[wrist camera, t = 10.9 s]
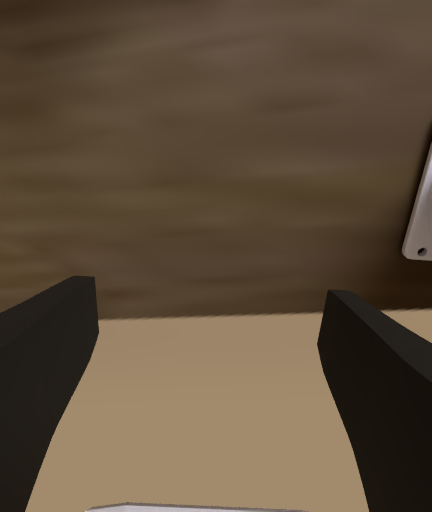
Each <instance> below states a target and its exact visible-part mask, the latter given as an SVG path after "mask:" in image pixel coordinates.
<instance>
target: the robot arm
mask: <svg viewBox="0 0 432 512" xmlns="http://www.w3.org/2000/svg"><path fill="white" fill-rule="evenodd" d="M421 248H424V250H423V252H422V253H419V254H418V250H419V249H421ZM402 253H403V255H404V256H405V257H406V258H408V259H414V260H429V261H432V143H431V146H430V150H429V154H428V157H427V161H426V164H425V168H424V171H423V175H422V179H421V182H420V186H419V189H418V193H417V196H416V200H415V204H414V207H413V211H412V214H411V218H410V221H409V225H408V229H407V232H406V236H405V239H404V243H403V246H402ZM98 334H99V327H98V314H97V302H96V289H95V277H88V276H73V277H70V278H68V279H66V280H64V281H62V282H60V283H58V284H56V285H54V286H52V287H50V288H49V289H47V290H45V291H43V292H41V293H39V294H37V295H36V296H34V297H32V298H30V299H28V300H26V301H24V302H22V303H20V304H18V305H16V306H14V307H12V308H10V309H8V310H6V311H4V312H2V313H0V512H25V510H26V507H27V504H28V501H29V498H30V496H31V493H32V490H33V487H34V484H35V482H36V479H37V476H38V473H39V470H40V468H41V465H42V462H43V460H44V457H45V455H46V452H47V449H48V447H49V444H50V441H51V439H52V436H53V434H54V432H55V429H56V427H57V425H58V423H59V421H60V419H61V417H62V415H63V413H64V411H65V409H66V407H67V405H68V403H69V401H70V399H71V397H72V395H73V393H74V391H75V389H76V387H77V385H78V383H79V381H80V379H81V377H82V375H83V373H84V371H85V369H86V367H87V365H88V363H89V361H90V358H91V356H92V353H93V350H94V346H95V344H96V341H97V337H98ZM317 346H318V350H319V355H320V360H321V364H322V368H323V372H324V375H325V377H326V380H327V382H328V385H329V388H330V391H331V393H332V396H333V398H334V400H335V403H336V406H337V408H338V411H339V414H340V416H341V419H342V421H343V424H344V426H345V429H346V432H347V434H348V437H349V440H350V442H351V445H352V448H353V451H354V455H355V458H356V462H357V466H358V469H359V473H360V477H361V480H362V484H363V488H364V492H365V496H366V500H367V504H368V508H369V512H432V343H430V342H429V341H427V340H425V339H424V338H422V337H420V336H419V335H417V334H415V333H413V332H412V331H410V330H408V329H407V328H405V327H404V326H402V325H400V324H399V323H397V322H396V321H394V320H393V319H391V318H390V317H388V316H387V315H385V314H384V313H382V312H381V311H379V310H378V309H376V308H375V307H373V306H372V305H371V304H369V303H368V302H366V301H365V300H363V299H361V298H360V297H358V296H357V295H355V294H353V293H351V292H350V291H345V290H328V293H327V298H326V303H325V308H324V313H323V317H322V323H321V328H320V332H319V337H318V342H317ZM84 512H306V511H302V510H286V509H263V508H240V507H239V508H238V507H219V506H195V505H174V504H150V503H129V502H127V503H120V504H113V505H105V506H97V507H92V508H90V509H88V510H86V511H84Z"/></svg>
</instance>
